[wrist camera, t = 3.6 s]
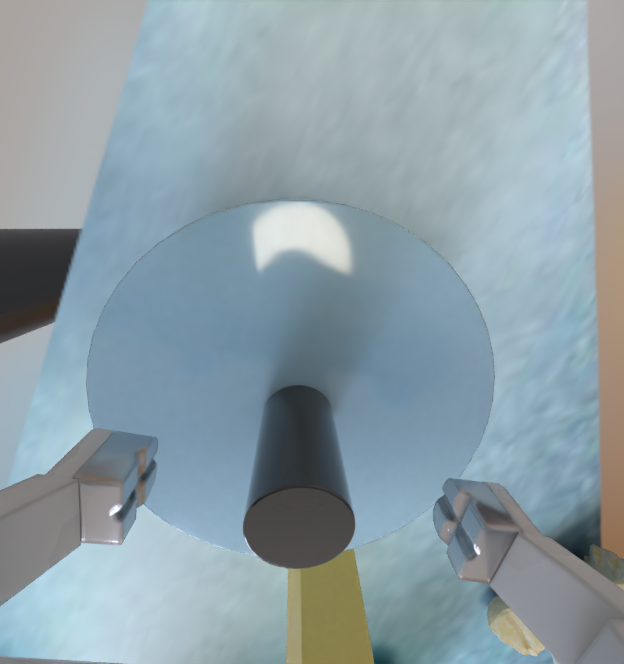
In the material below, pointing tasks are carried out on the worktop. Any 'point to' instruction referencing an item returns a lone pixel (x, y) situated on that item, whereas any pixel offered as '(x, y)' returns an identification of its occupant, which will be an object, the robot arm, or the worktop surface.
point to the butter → (327, 614)
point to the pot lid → (294, 377)
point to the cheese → (514, 628)
